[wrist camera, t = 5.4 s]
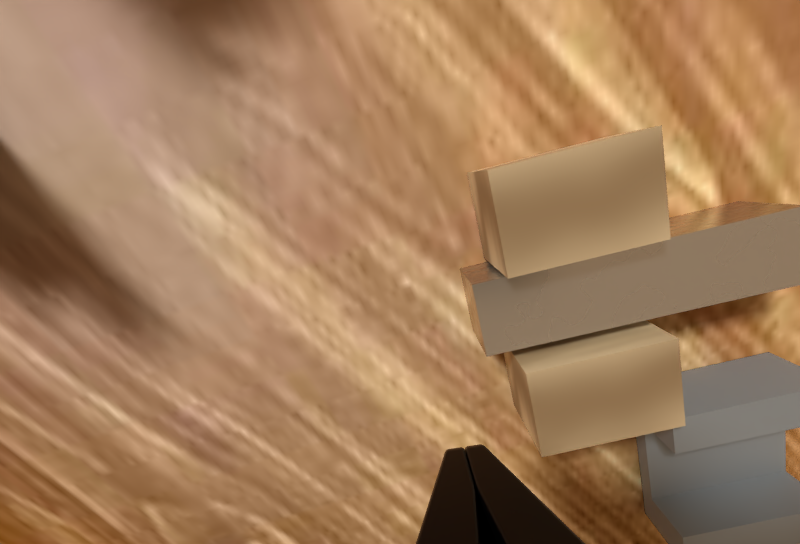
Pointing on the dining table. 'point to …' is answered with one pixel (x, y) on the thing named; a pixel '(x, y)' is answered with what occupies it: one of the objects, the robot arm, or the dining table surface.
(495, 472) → the robot arm
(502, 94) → the dining table surface
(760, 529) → the v cradle
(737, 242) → the bar
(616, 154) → the wooden blocks
